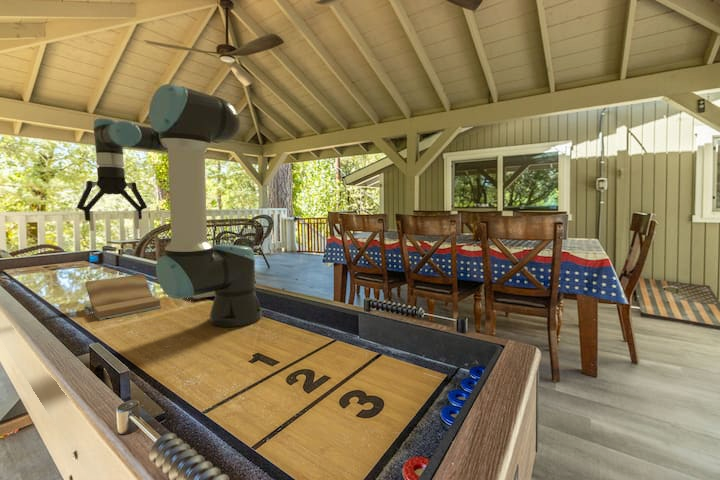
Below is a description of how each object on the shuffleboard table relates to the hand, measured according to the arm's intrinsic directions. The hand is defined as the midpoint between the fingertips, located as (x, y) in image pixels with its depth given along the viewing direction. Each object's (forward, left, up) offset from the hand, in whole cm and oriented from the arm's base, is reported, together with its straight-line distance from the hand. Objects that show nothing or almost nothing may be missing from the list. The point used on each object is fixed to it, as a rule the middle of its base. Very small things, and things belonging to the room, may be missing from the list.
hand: (115, 229), depth 118 cm
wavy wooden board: (-2, +1, -22) cm, 22 cm away
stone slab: (-3, -24, -27) cm, 36 cm away
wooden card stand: (-6, +1, -26) cm, 27 cm away
